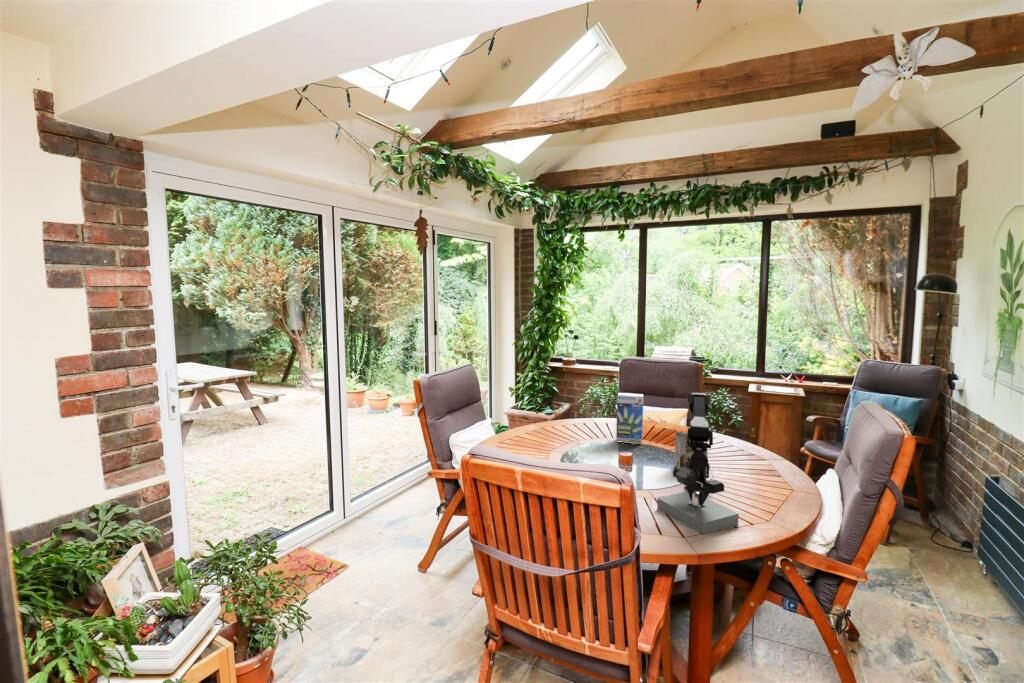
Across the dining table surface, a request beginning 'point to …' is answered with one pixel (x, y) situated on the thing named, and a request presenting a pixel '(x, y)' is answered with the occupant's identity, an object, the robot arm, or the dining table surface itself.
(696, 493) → the steel peg
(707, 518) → the hole block
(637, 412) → the string lights box
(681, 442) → the coffee box
